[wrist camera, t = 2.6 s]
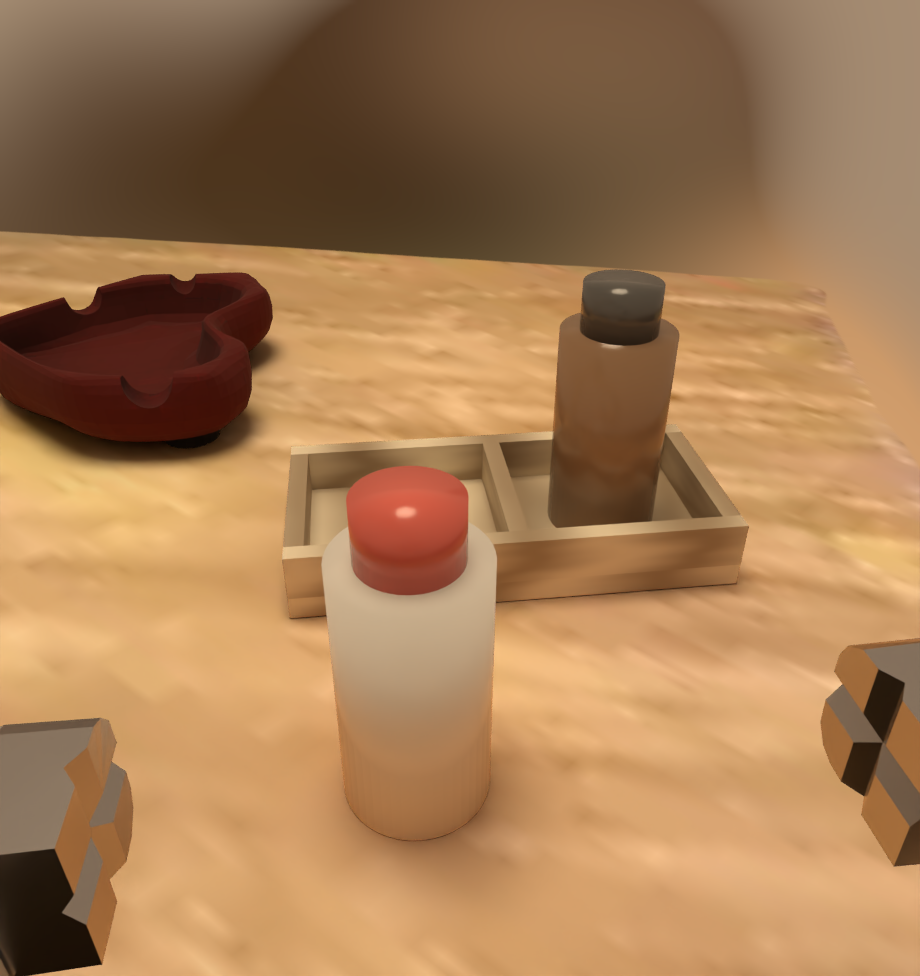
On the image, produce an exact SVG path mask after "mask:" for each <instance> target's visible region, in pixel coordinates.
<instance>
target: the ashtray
mask: <svg viewBox="0 0 920 976" xmlns="http://www.w3.org/2000/svg"><path fill="white" fill-rule="evenodd" d="M272 318H273V315H272V304H271V300H270V296H269V294H268V292H267V290H266V289H265V288H264V287H262V286H261V285H260V284H259V283H258V281H257V280H256V279H254V278H253V277H251V276H250V275H249V274H246V273H210V274H196V275H195V276H194V278H193V279H192V280H190V281H181V280H178V279H177V278H175V277H174V276H173V275H171V274H156V275H141V276H137V277H133V278H129V279H126V280H122V281H119V282H115V283H112V284H108V285H105V286H101V287H98V289H97V291H96V294H95V297H94V300H93V302H92V303H91V305H90V306H89V307H87V308H85V309H82V310H73V309H71V308H70V306H69V305H68V303H67V302H66V300H65V298H64V297H63V298H60V299H56V300H53V301H49V302H46V303H43V304H39V305H36V306H33V307H29V308H26V309H23V310H20V311H17V312H13V313H10V314H7V315H4V316H1V317H0V393H1V394H2V395H3V397H4V398H6V399H7V400H9V401H10V402H12V403H13V404H15V405H18V406H20V407H22V408H24V409H27V410H29V411H32V412H34V413H37V414H40V415H43V416H46V417H49V418H52V419H55V420H58V421H60V422H62V423H64V424H66V425H68V426H70V427H72V428H74V429H75V430H77V431H79V432H82V433H85V434H87V435H90V436H93V437H98V438H104V439H109V440H114V441H129V442H149V441H165V442H166V443H167V444H168V445H170V446H172V447H177V448H195V447H200V446H203V445H206V444H209V443H211V442H213V441H214V440H215V439H217V437H218V436H219V434H220V429H222V428H224V427H225V426H226V425H227V424H229V423H230V422H231V421H232V420H234V419H235V418H236V417H237V416H238V415H239V414H240V413H241V412H243V410H244V409H245V408H246V407H247V404H248V401H249V397H250V394H251V390H252V370H251V364H250V358H249V354H248V352H249V351H250V350H252V349H253V348H254V347H255V346H256V345H257V344H258V343H259V342H260V341H261V340H262V339H263V338H264V337H265V336H266V334H267V333H268V331H269V329H270V325H271V322H272Z"/></svg>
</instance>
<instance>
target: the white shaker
mask: <svg viewBox="0 0 920 976" xmlns="http://www.w3.org/2000/svg"><path fill="white" fill-rule="evenodd" d="M468 501H469V497H468V492H467V489H466V487H465V486H464V484H463V483H462V482H461V481H460V480H458V479H457V478H456V477H454V476H453V475H451V474H449V473H447V472H444V471H441V470H438V469H434V468H429V467H423V466H397V467H391V468H386V469H381V470H378V471H375V472H373V473H370V474H368V475H366V476H364V477H362V478H361V479H359V480H358V481H357V482H356V483H355V484H353V486H352V487H351V488H350V490H349V491H348V494H347V497H346V506H347V518H348V527H346V528H345V529H344V530H342V531H341V532H339V533H338V534H337V535H336V536H335V537H334V538H333V539H332V540H331V542H330V543H329V544H328V546H327V547H326V549H325V551H324V554H323V557H322V564H321V566H322V576H323V586H324V595H325V605H326V615H327V624H328V634H329V644H330V653H331V663H332V673H333V682H334V692H335V702H336V711H337V721H338V731H339V740H340V750H341V760H342V769H343V779H344V789H345V794H346V798H347V801H348V803H349V806H350V808H351V809H352V811H353V812H354V814H355V815H356V816H357V817H358V818H359V819H360V821H362V822H363V823H364V824H365V825H366V826H368V827H369V828H371V829H372V830H374V831H376V832H378V833H380V834H382V835H385V836H388V837H391V838H395V839H400V840H410V841H418V840H428V839H434V838H437V837H441V836H444V835H446V834H449V833H451V832H453V831H455V830H457V829H459V828H460V827H462V826H463V825H465V824H466V823H467V822H469V821H470V820H471V819H472V818H473V817H474V816H475V815H476V813H477V812H478V811H479V809H480V808H481V806H482V805H483V803H484V801H485V799H486V796H487V794H488V789H489V784H490V757H491V727H492V697H493V666H494V636H495V606H496V575H497V555H496V551H495V548H494V545H493V544H492V542H491V541H490V539H489V538H488V537H487V536H486V534H485V533H484V532H482V531H481V530H480V529H479V528H477V527H476V526H474V525H473V524H471V523H469V522H468Z"/></svg>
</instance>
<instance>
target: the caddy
mask: <svg viewBox="0 0 920 976" xmlns="http://www.w3.org/2000/svg"><path fill="white" fill-rule="evenodd" d="M552 436H553V431H550V432H533V433H515V434H498V435H481V436H464V437H446V438H429V439H412V440H394V441H377V442H360V443H343V444H325V445H308V446H292V448H291V460H290V471H289V483H288V495H287V507H286V519H285V531H284V543H283V555H282V562H283V569H284V577H285V584H286V592H287V599H288V607H289V614H290V618H300V617H313V616H325V615H326V605H325V595H324V586H323V576H322V566H321V564H322V557H323V554H324V551H325V549H326V547H327V546H328V544H329V543H330V542H331V540H332V539H333V538H334V537H335V536H336V535H337V534H338V533H339V532H341V531H342V530H344V529H345V528H346V527H348V518H347V506H346V497H347V494H348V491H349V490H350V488H351V487H352V486H353V484H355V483H356V482H357V481H358V480H359V479H361V478H362V477H364V476H366V475H368V474H370V473H373V472H375V471H378V470H381V469H386V468H391V467H397V466H423V467H429V468H434V469H438V470H441V471H444V472H447V473H449V474H451V475H453V476H454V477H456V478H457V479H458V480H460V481H461V482H462V483H463V484H464V486H465V487H466V489H467V492H468V497H469V501H468V522H469V523H471V524H473V525H474V526H476V527H477V528H479V529H480V530H481V531H482V532H484V533H485V534H486V536H487V537H488V538H489V539H490V541H491V542H492V544H493V545H494V548H495V551H496V555H497V575H496V602H503V601H516V600H528V599H541V598H554V597H566V596H579V595H592V594H604V593H617V592H630V591H642V590H655V589H668V588H681V587H693V586H706V585H719V584H731V583H736V582H737V578H738V573H739V569H740V564H741V560H742V555H743V551H744V546H745V542H746V537H747V533H748V528H749V525H748V524H747V522H746V521H745V520H744V518H743V517H742V515H741V514H740V513H739V511H738V510H737V509H736V507H735V506H734V504H733V503H732V502H731V500H730V499H729V497H728V496H727V495H726V493H725V492H724V490H723V489H722V488H721V486H720V485H719V483H718V482H717V481H716V479H715V478H714V477H713V475H712V474H711V472H710V471H709V470H708V468H707V467H706V465H705V464H704V463H703V461H702V460H701V458H700V457H699V456H698V454H697V453H696V451H695V450H694V449H693V447H692V446H691V445H690V443H689V442H688V440H687V439H686V438H685V436H684V435H683V433H682V432H681V431H680V429H679V428H678V426H677V425H676V424H671V425H666V430H665V436H664V443H663V450H662V457H661V464H660V470H659V477H658V484H657V491H656V497H655V504H654V511H653V518H652V521H650V522H636V523H622V524H607V525H593V526H579V527H565V528H556V527H555V526H554V525H553V524H552V523H551V521H550V519H549V517H548V512H547V509H548V494H549V480H550V465H551V450H552Z"/></svg>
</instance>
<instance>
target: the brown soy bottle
mask: <svg viewBox="0 0 920 976" xmlns="http://www.w3.org/2000/svg"><path fill="white" fill-rule="evenodd" d="M664 293H665V282H664V281H663V280H662V279H660V278H658V277H656V276H654V275H651V274H648V273H644V272H639V271H632V270H604V271H598V272H594V273H591V274H589V275H587V276H586V277H585V278H584V280H583V292H582V304H581V313H577V314H575V315H572V316H570V317H568V318H566V319H565V320H564V321H563V322H562V323H561V325H560V333H559V348H558V362H557V377H556V392H555V406H554V421H553V436H552V450H551V465H550V480H549V494H548V509H547V512H548V517H549V519H550V521H551V523H552V524H553V525H554V526H555V527H556V528H565V527H579V526H593V525H607V524H622V523H636V522H650V521H652V518H653V511H654V504H655V497H656V491H657V484H658V477H659V470H660V464H661V457H662V450H663V443H664V436H665V430H666V423H667V416H668V409H669V403H670V396H671V389H672V382H673V375H674V369H675V362H676V355H677V348H678V342H679V332H678V330H677V328H676V327H675V326H674V325H672V324H671V323H669V322H668V321H666V320H664V319H661V316H662V308H663V301H664Z"/></svg>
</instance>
